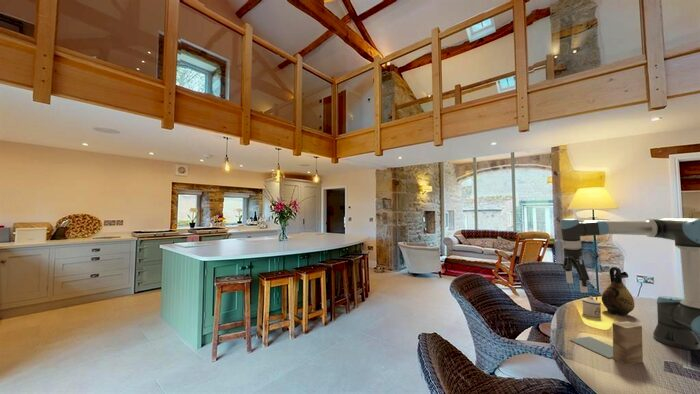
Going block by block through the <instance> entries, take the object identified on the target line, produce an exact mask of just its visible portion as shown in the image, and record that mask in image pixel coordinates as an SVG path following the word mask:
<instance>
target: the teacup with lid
mask: <svg viewBox="0 0 700 394" xmlns="http://www.w3.org/2000/svg"><path fill="white" fill-rule="evenodd" d="M581 301H582V313H583V315H585V316H588V317H591V318H601V315H602V314H601V313H602V312H601V309H602V308H601V305H602V303H601V302H602V301H599V300H597V299H596V298H594V297H593V296H588V297H585V298H584V297H583V298H582V299H581Z"/></svg>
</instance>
